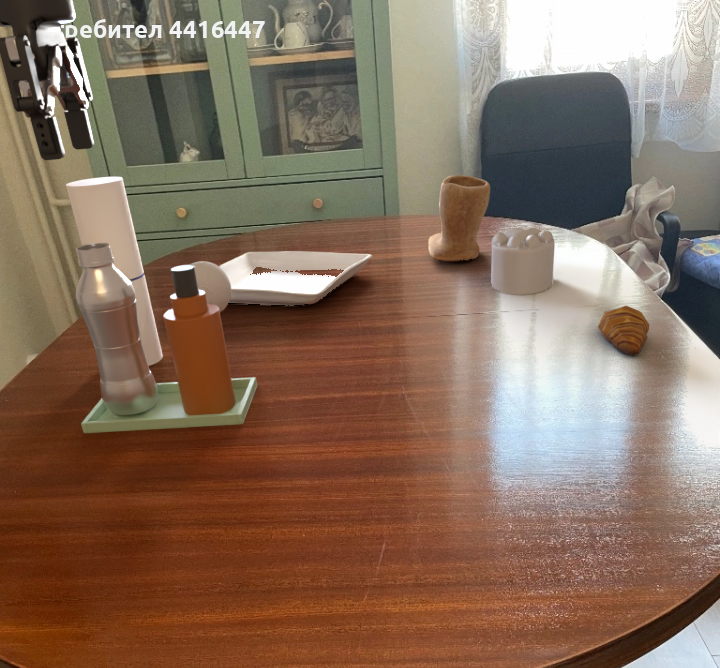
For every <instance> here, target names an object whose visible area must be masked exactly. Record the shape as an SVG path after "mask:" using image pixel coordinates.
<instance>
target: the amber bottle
mask: <svg viewBox="0 0 720 668" xmlns="http://www.w3.org/2000/svg"><path fill="white" fill-rule="evenodd" d="M170 274H171V278H172V283H173V287H174V293H173V294H171V295H170V296H169V299H170V303H171V309H168V310H167V311H165V312H164V313H163V315H162V317H163V321H164V326H165V331H166V336H167V339H168V340H167V341H168V344H169V349H170V353H171V358H172V362H173V367H174V372H175V376H176V382H178V386H179V390H180V395H181V399H182V404H183V408H184V412H185V413H186V414H188V415H206V414H222V413H224V412H226V411H228V410H230V409H231V408H233V407H234V405H235V403H236V401H235V395H234V390H233V384H232V379H233V378H232V373H231V368H230V363H229V356H228V352H227V345H226V340H225V334H224V327H223V323H222V317H221V312H219V307H218V306H216V305H214V304H208V303H207V299H206V293H205V291H203V290H198V285H197V279H196V274H195V269H194V266H192V265H190V264H182V265H178V266H177V265H176V266H174V267H172V268H170Z"/></svg>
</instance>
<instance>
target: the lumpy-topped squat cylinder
mask: <svg viewBox="0 0 720 668" xmlns="http://www.w3.org/2000/svg"><path fill="white" fill-rule="evenodd" d="M555 243H556V242H555V238H554V236H553V233H552V232H551V231H550V230H547V229H545V230H542V231H541V230H540V229H538V228H537V227H523V228H520V227H514V228H508V229H506V230H505V231H503V232H502V231H501V232H497V233H496V234H495V235H494V236H493V237H492V239H491V259H490V260H491V263H490V265H491V267H490V269H491V270H490V276H491V277H490V285H491V284H492V286H491V288H492V287H494V288H495V289H494V288H493V289H494V290H496V289H498V290H499V291H498V290H497V291H498V292H500V291H502V292H501V293H503V292H504V294H509V295H517V296H525V295H534V294H537V293H541V292H544V291H546V290H549V288H551V287H552V286H553V280H554V261H555V248H556V247H555V246H556V244H555Z"/></svg>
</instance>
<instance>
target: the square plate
mask: <svg viewBox="0 0 720 668" xmlns="http://www.w3.org/2000/svg"><path fill="white" fill-rule="evenodd" d="M372 258H373V255H372V254H369V253H348V252H347V253H346V252H332V251H331V252H328V251H306V250H305V251H301V250H300V251H299V250H298V251H297V250H295V251H294V250H293V251H291V250H287V251H283V250H281V251H249V252H246V253H243V254H242V255H239V256H237V257H235V258H233V259H231V260H228V261H226V262H224V263H223V264H219V265H218V266H219V267H220V268H221V269H222V270H223V271H224V272H225V273H226V275H227V276H228V278H229V281H230V284H231V297H230V301H229V303H245V304H244V305H248V304H260V305H259V306H271V305H285V306H284V307H295V306H294V305H302V306H305V305H304V304H308V305H313V304H316V303H318V302H319V300H320V299H321V300H323V299H324V298H325V297H326V296H328V295H329V294H330V293H332V292H333V291H334V290H335V289H337V288H338V287H340V286H341V285H343V284H344V283H345V282H347V281H348V280H349V279H350V278H352V277H354V276H355V275H356V274H357V273H359V272H361V270H362V269H364V267H365V266H367V264H368V263H369V261H370V260H371V259H372ZM256 267H262V268H267V269H268V268H269V269H271V270H273V269H274V270H277V271H271V273H270V272H268V273H267V272H266V273H265V272H263V273H261V275H260V273H259V274H258V273H257V275H256V274H252V273H253V270H254V269H255V268H256ZM328 269H329V270H331V269H337V270H340V269H341V270H344V271H343V272H342V273H340V274H339V275H338V276H337V277H335V276H331V275H326V274H325V275H323V276H322V275H317V274H315V275H314V274H313V275H307V274H306V275H304V274H303V275H302V274H300V273H298V272H295V271H296V270H298V271H300V270H328ZM280 270H281V271H280ZM286 270H288V271H289V272H288V273H287V272H285V271H286ZM282 271H284V272H282ZM290 271H293V272H290ZM250 274H251V275H250ZM328 276H329V277H328ZM340 284H341V285H340ZM336 287H337V288H336ZM333 289H334V290H333ZM332 290H333V291H332ZM329 292H330V293H329ZM328 293H329V294H328ZM327 294H328V295H327ZM323 297H324V298H323ZM321 300H320V301H321ZM246 303H247V304H246ZM288 305H289V306H288Z"/></svg>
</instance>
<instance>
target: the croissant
mask: <svg viewBox="0 0 720 668" xmlns="http://www.w3.org/2000/svg"><path fill="white" fill-rule="evenodd" d="M597 329H598V330H599V331H600V333H601V334H602V336H603V337H604V339H605V340H606V342H608V343H609V344H610V345H612V346H613V348H614V349H616V350H618V351H619V352H620V353H623V354H625V355H629V356H638V355H639V354H640V353H641V351H642V350H643V347H644V346H645V344H646V342H647V340H648V338H649V337H648V333H649V331H650V322H649V321H648V320H647V319H646V317H645V315H644V313H643V311H640V310H639V309H636V308H634V307H631V306H629V305H624V306H621V307H617V308H614V309H609V310H606V311H604V312H603V314H602V316H601V318H600V320H599V322H598V324H597Z"/></svg>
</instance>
